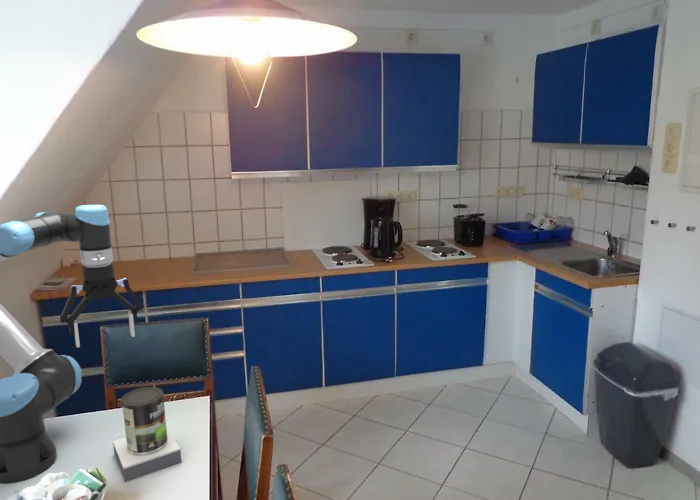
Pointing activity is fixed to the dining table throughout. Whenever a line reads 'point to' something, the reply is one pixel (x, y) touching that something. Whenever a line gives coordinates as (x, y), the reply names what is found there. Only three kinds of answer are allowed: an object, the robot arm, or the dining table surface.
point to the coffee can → (144, 420)
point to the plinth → (145, 458)
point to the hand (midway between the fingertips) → (105, 340)
